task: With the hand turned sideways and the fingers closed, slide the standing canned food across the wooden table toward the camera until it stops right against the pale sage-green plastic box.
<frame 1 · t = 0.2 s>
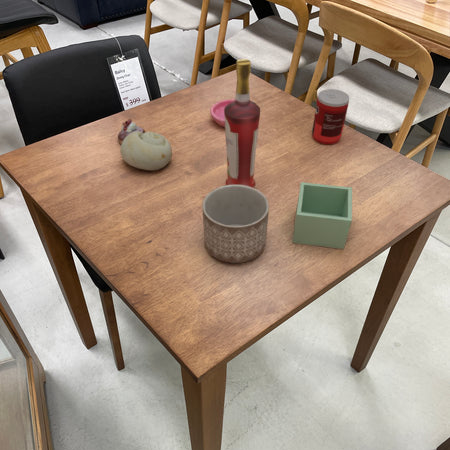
seashell: (147, 164, 109), on the table
pinkish grey lump: (132, 140, 116), on the table
canned food: (325, 137, 116), on the table
saucer: (232, 121, 122), on the table
planter: (235, 245, 91), on the table
box: (319, 229, 94), on the table
liquor: (240, 188, 103), on the table
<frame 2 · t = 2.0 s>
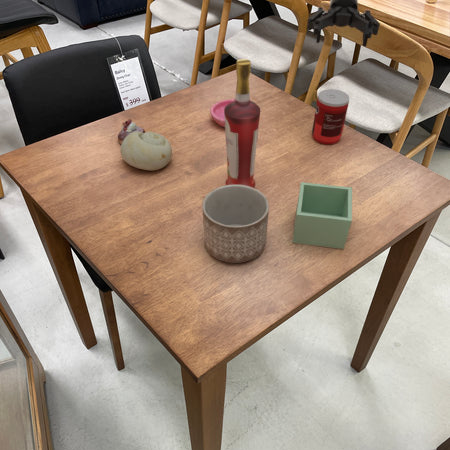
hand: (342, 38, 107), 20 cm above the table, tool horizontal, fingers open, 11 cm apart
nothing on the table moved.
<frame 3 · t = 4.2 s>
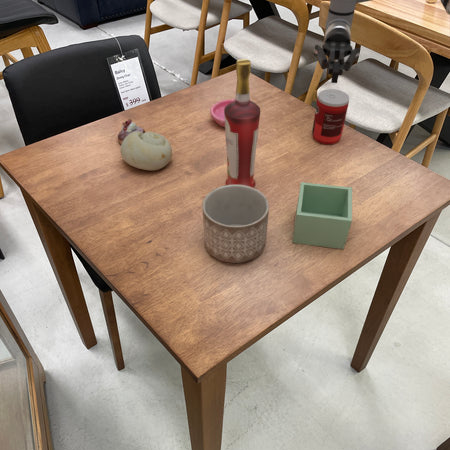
hand: (335, 77, 113), 11 cm above the table, tool horizontal, fingers closed
nothing on the table moved.
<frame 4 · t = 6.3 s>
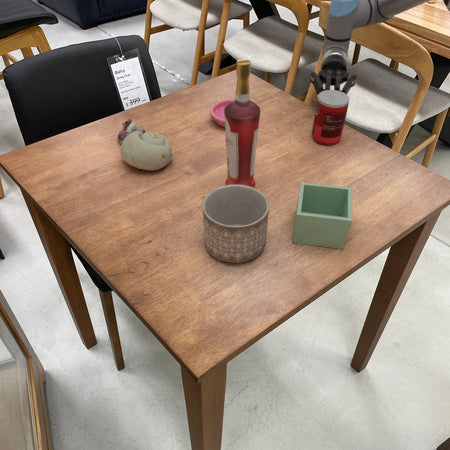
hand: (330, 106, 114), 6 cm above the table, tool horizontal, fingers closed
canned food: (325, 138, 116), on the table, touching gripper
everything else where it was.
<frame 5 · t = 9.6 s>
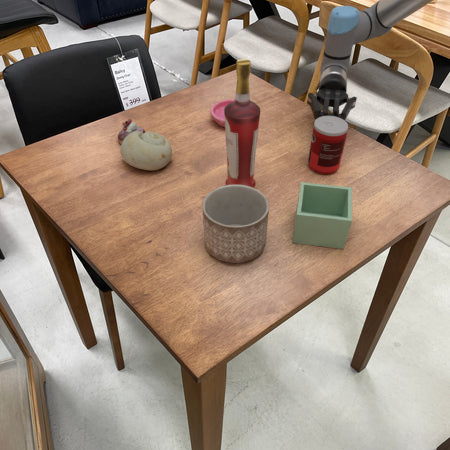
hand: (328, 132, 105), 7 cm above the table, tool horizontal, fingers closed
canned food: (322, 166, 108), on the table, touching gripper
everything else where it was.
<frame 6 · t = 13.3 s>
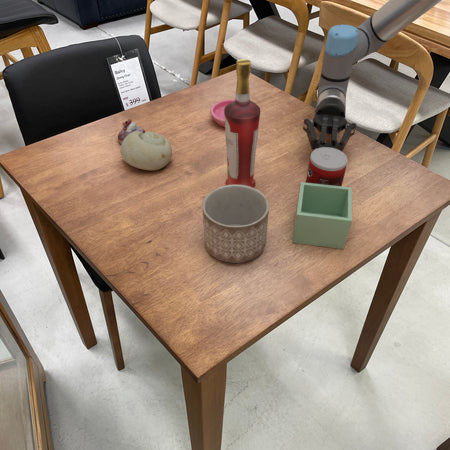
hand: (326, 164, 97), 7 cm above the table, tool horizontal, fingers closed
canned food: (320, 200, 100), on the table, touching gripper
everything else where it was.
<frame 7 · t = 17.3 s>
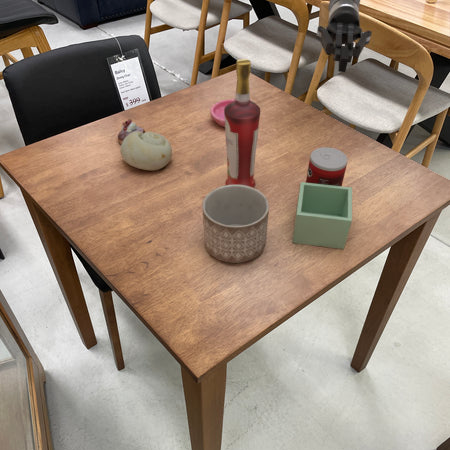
hand: (343, 65, 94), 22 cm above the table, tool horizontal, fingers closed
canned food: (320, 200, 100), on the table
everything else where it was.
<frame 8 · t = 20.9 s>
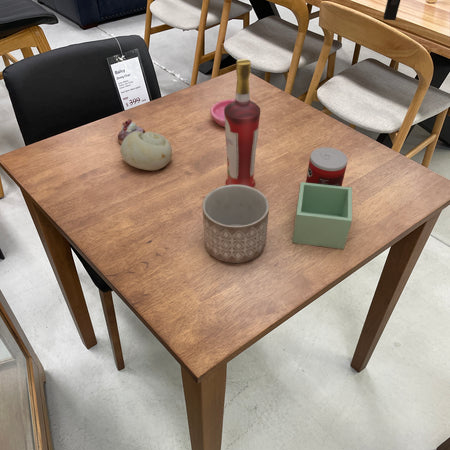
hand: (389, 18, 104), 24 cm above the table, tool pointing down, fingers closed
nothing on the table moved.
at the end: canned food 10.1 cm from the box (horizontally); canned food tilted 0°; canned food moved 26.8 cm from its start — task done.
